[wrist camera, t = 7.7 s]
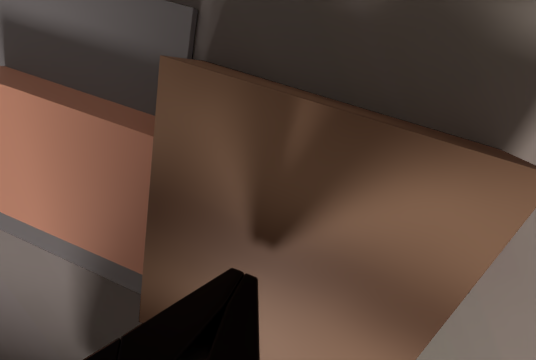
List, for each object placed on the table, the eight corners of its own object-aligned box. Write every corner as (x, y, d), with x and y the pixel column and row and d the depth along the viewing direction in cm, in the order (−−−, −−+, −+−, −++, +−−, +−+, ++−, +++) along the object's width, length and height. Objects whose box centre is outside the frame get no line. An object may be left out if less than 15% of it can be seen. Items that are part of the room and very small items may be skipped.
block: (187, 126, 10) (153, 136, 8) (172, 247, 13) (143, 275, 11) (4, 66, 12) (-58, 63, 10) (23, 185, 14) (-25, 201, 12)
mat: (161, 298, 15) (158, 302, 14) (5, 226, 16) (-1, 229, 16) (197, 9, 9) (193, 8, 9) (-48, -56, 11) (-58, -60, 10)
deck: (358, 365, 12) (361, 428, 10) (172, 282, 14) (138, 321, 12) (500, 149, 8) (559, 176, 6) (204, 60, 10) (160, 54, 7)
